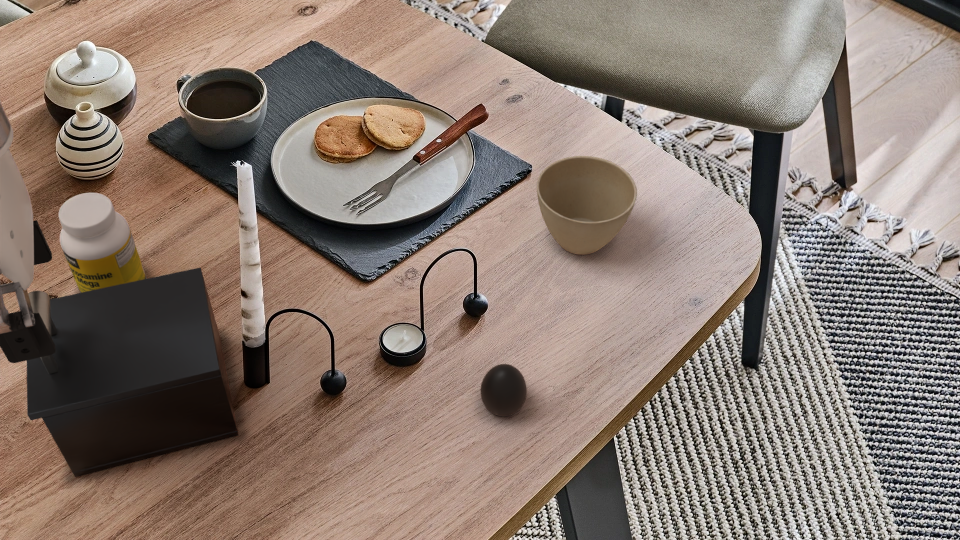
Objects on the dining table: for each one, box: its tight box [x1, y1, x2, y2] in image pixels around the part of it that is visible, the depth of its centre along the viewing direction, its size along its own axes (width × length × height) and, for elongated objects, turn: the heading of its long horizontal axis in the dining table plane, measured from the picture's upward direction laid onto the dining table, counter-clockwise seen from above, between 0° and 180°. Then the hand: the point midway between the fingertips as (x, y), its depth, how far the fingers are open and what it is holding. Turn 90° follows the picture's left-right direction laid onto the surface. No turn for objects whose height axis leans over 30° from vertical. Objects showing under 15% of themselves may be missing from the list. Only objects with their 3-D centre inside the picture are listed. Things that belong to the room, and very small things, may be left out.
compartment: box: [41, 276, 240, 478], centre depth 81 cm, size 14×12×9 cm
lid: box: [26, 267, 221, 421], centre depth 75 cm, size 14×12×5 cm
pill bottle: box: [58, 192, 147, 293], centre depth 89 cm, size 6×6×11 cm
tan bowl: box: [536, 155, 638, 256], centre depth 97 cm, size 10×10×7 cm
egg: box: [480, 363, 528, 417], centre depth 83 cm, size 4×4×5 cm
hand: (32, 307), depth 71 cm, fingers open, 9 cm apart
